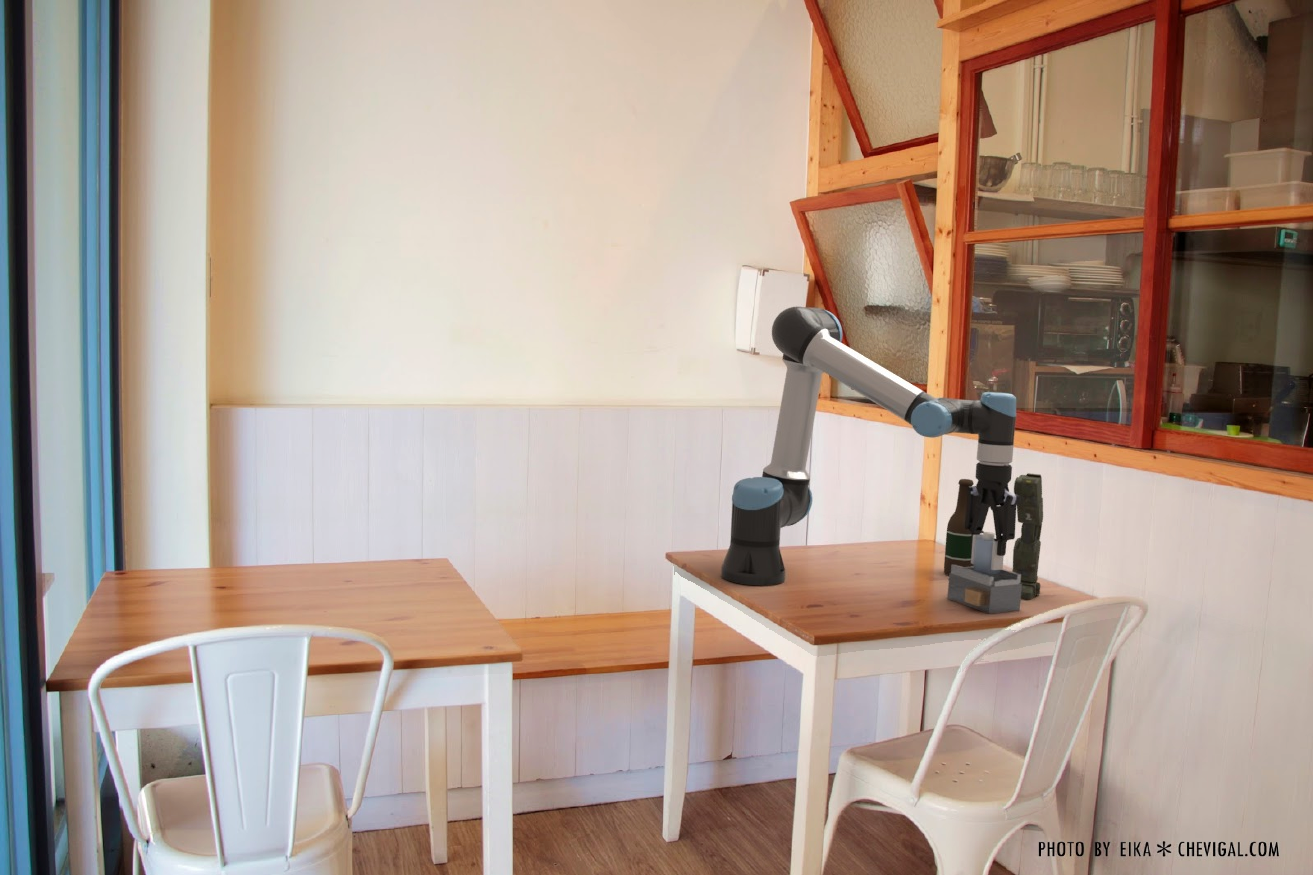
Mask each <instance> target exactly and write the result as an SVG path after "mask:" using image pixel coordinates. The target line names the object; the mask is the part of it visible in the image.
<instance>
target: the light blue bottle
mask: <svg viewBox="0 0 1313 875" xmlns="http://www.w3.org/2000/svg"><path fill="white" fill-rule="evenodd" d="M983 532H984V533H982V534H983V537H979V538H976V541H975V555H974V569H973V570H974V571H977V572H980V573H987V574H996V573H999V570H991V560H992V547H993V540H994V539H996V534H995V533H994V532H989V531H983Z"/></svg>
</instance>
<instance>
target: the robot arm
mask: <svg viewBox="0 0 1313 875" xmlns="http://www.w3.org/2000/svg"><path fill="white" fill-rule="evenodd" d="M771 337H772V342H773V344H774V345H775V347H776V348H777V350H779V351H780V352H781V353H782V360H781V361H782V362H783V363H784V365H785V367H786V373H785V378H784V385H783V391H782V396H781V401H780V408H779V412H778V418H777V419H778V420H777V425H776V431H775V438H774V441H773V442H774V443H773V449H772V454H771V460H770V463H769V464H767V465H766V466H765V467H764V468H763V469H762V470H763V471H762V476H756V477H755V476H754V477H747V478H741V479H740V480H738V481H737V482H735V483H734V486H733V491H732V495H731V523H730V524H731V525H730V541H729V547H728V550H727V551H726V555H725V558H724V560H723V563H722V566H721V571H720V572H721V574H720V576H721V578H722V579H723V580H726V581H728V582H731V583H734V584H740V585H747V586H775V585H779V584H782V583H784V582H785V580H786V569H785V564H784V560H783V557H782V552H781V548H780V543H781V529H783V528H786V527H790V526H793V525H796V524H797V523H799V522H800V521H801V520H803V519H804V518H805V517H806V516H807V515H808V514H809V512H810V511H811V508H812V505H813V493H812V490H811V489H810V480H811V476H810V474H809V473H808V471H807V470H806V467H807V462H808V456H809V452H810V447H811V446H810V445H811V440H812V433H813V428H814V423H815V417H816V411H817V407H818V400H819V394H820V389H821V383H822V378H823V374H824V373H825V374H827V375H828V376H829V377H831V378H834V380H837V381H838V382H840V384H843V385H845V386H847V387H848V388H850V389H852V391H855V392H856V393H858V394H859V395H862V396H863V397H864V398H867V399H868V400H870V401H872V403H875V404H876V405H878V406H879V407H882V408H883V409H885V410H886V411H888V412H890V413H891V414H893V415H894V416H896V417H898V418H900V419H901V420H903V421H905V422H907V424H909V425H910V426H912V428H913V430H914V431H915V433H917V434H919V435H920V436H922V437H924V438H925V437H926V438H933V439H934V438H939V437H941V436H943V435H949V434H952V433H953V434H955V433H957V434H969V435H977V436H978V439H977V451H976V461H978V462H976V464H975V466H976V468H975V479H976V480H977V483H976V485H972V486H968V487H967V488H966V490H967V496H968V497H967V507H966V517H965V529H966V530H969V531H970V533H971V548H972V555H971V563H972V564H974V555H975V541H976V538H979V537H983V533H984V532H985V531H984V526H985V523H986V519H987V516H988V514H989V513H988V512H989V510H991V511H992V517H993V523H994V524H993V525H994V526H993V527H994V532H995V539H994V540H993V547H992V560H991V570H1001V569H1004V568H1003V566H1004V556H1005V555H1006V552H1007V542H1008V541H1010V540H1015V537H1016V522H1017V521H1016V520H1017V519H1016V518H1017V502H1018V499H1019V496H1018V495H1015V494H1014V493H1012V492H1010V489H1009V483H1010V482H1011V480H1012V471H1013V466H1012V465H1011V463H1012V462H1013V456H1014V444H1015V434H1016V433H1015V432H1016V423H1017V397H1016V396H1015V395H1014V394H1012V393H1008V392H993V391H987V392H986V391H985V392H982V394H981V396H980V399H979V400H973V399H972V400H969V399H961V398H960V399H958V398H950V397H949V398H948V397H934V396H932V395H931V394H929V393H927V392H925V391H924V390H923V389H921V388H919V387H917V386H915V385H914V384H911V383H910V382H909V381H907V380H905V379H903V378H901V377H900V376H898V375H897V374H894V372H892V371H890V370H888V369H887V368H885V367H883V366H882V365H880V364H878V363H876V362H875V361H873V360H871V359H869V358H867V356H864V355H862V354H861V353H860V352H858V351H856V350H854V349H853V348H851V347H850V346H847V345H846V344H845V343H842V341H843V328H842V325H841V322H840V321H839V319H838V318H837V317H836V315H835V314H833V313H832V312H830V310H829V311H828V310H827V309H823V308H820V307H814V306H813V307H808V306H807V307H806V306H791V307H788V308H786V309H784V310H782V311H781V312H779V314H778V315H777V316H776V317H775V319H774V321H773V323H772V326H771ZM970 523H971V524H970Z"/></svg>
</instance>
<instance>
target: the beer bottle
mask: <svg viewBox="0 0 1313 875" xmlns="http://www.w3.org/2000/svg"><path fill="white" fill-rule="evenodd" d="M958 485H959V486H958V492H957V500H956V506H955V509H954V510H955V511H954V512H953V514H952V515H951V516H950V518H949V519H948V523H947V527H946V535H945V536H946V537H945V548H944V549H945V551H944V564H943V573H944V574H945V575H946V576H949V573H951V565H953V564H956V565H959V566H962V567H972V566H974V564H972V563H971V555H972V548H971V533H970V531H969V530H966V529H965V517H966V507H967V497H968V496H967V490H966V488H967V487H968V486H975V485H974V480H972V479H969V478H961V479H959V481H958ZM970 524H971V523H970Z"/></svg>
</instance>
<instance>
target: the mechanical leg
mask: <svg viewBox="0 0 1313 875" xmlns="http://www.w3.org/2000/svg"><path fill="white" fill-rule="evenodd" d="M1042 479H1043V478H1042V475H1041V474H1038V473H1030V472H1029V473H1028V472H1027V473H1026V474H1020V475H1019V477H1016V478H1015V480H1014V484H1013V495H1018V496H1019V499H1018V502H1017V505H1016V518H1017V522H1018V523H1019V524H1020V523H1021V528H1020V529H1021V530H1020V533H1021V534H1020V535H1021V536H1020V537H1018V538H1016V539H1015V541H1014V546H1013V549H1012V551H1013V553H1012V572H1015V573H1018V574H1021V581H1020V583H1021V584H1022V590H1021V600H1022V599H1023V600H1027V601H1030V600H1032V599H1034V598H1035V597H1036V596H1039V595H1040V593H1041V583H1040V582H1038V580H1039V578H1038V577H1039V576H1038V572H1039V562H1040V553H1041V544H1042V541H1041V534H1042V527H1043V526H1042V525H1043V521H1044V498H1043V484H1042V483H1043V482H1042V481H1043V480H1042Z"/></svg>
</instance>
